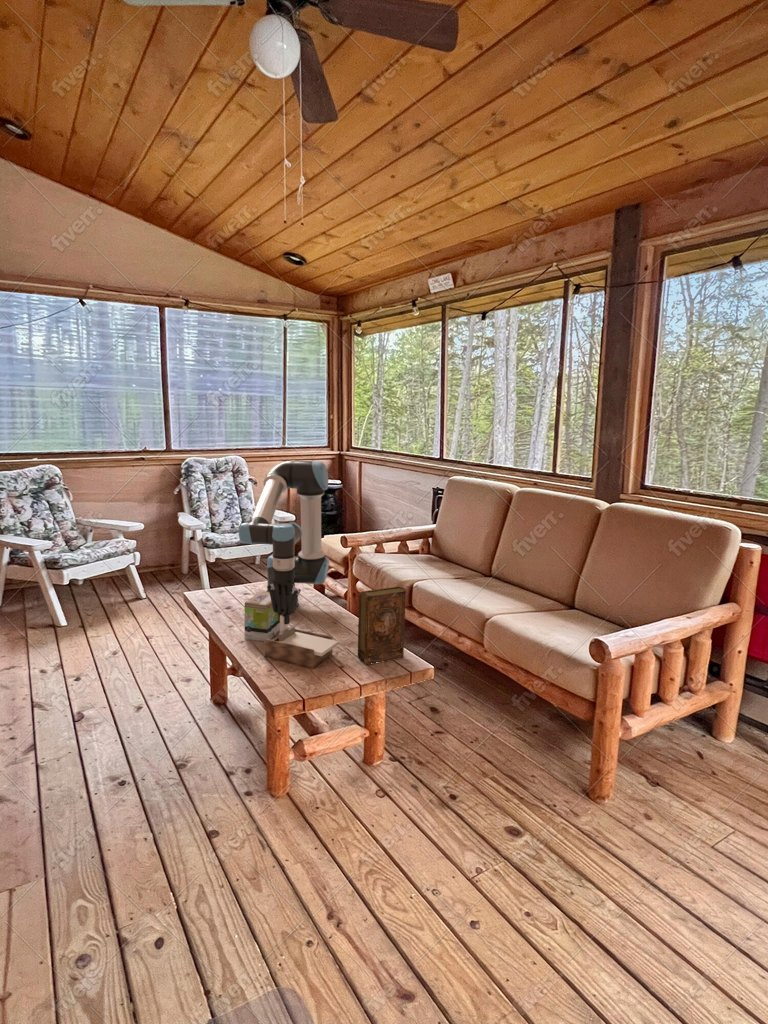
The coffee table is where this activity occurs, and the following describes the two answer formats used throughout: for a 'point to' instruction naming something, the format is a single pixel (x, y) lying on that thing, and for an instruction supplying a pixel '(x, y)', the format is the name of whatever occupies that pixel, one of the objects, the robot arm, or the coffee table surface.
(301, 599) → the coffee table surface
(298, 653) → the walnut box
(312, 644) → the cover plate
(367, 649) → the book
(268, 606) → the tea box
